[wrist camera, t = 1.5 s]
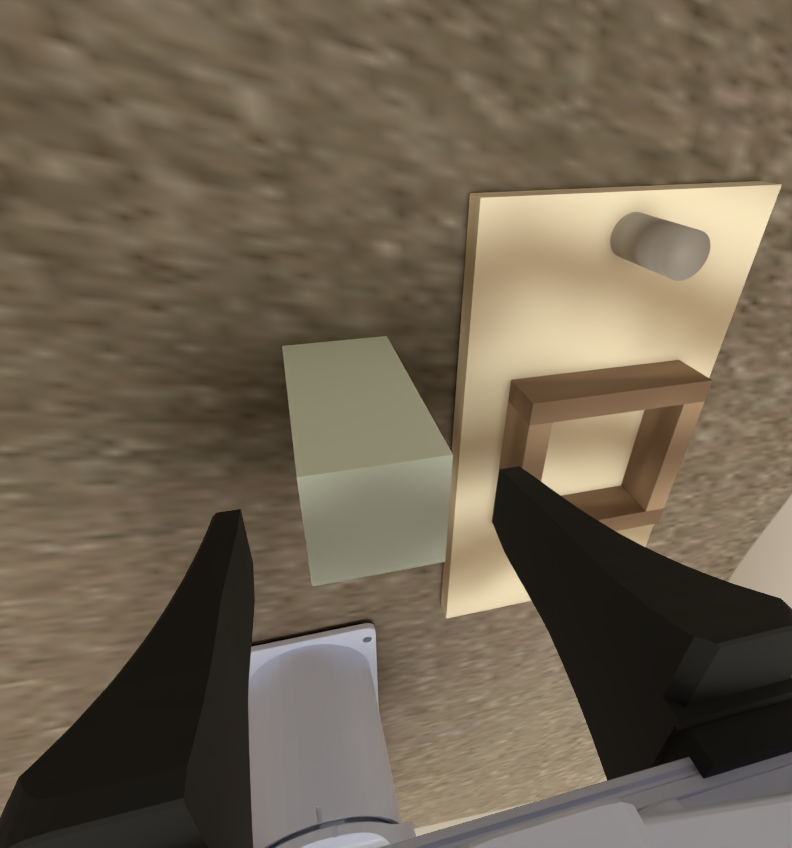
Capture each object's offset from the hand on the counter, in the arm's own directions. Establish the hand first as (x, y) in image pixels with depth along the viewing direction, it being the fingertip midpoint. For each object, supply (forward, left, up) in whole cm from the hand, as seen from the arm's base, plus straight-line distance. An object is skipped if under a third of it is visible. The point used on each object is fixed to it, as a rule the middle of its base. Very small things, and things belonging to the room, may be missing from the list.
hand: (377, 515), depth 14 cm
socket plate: (-4, -11, -8) cm, 14 cm away
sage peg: (0, 0, -8) cm, 8 cm away
